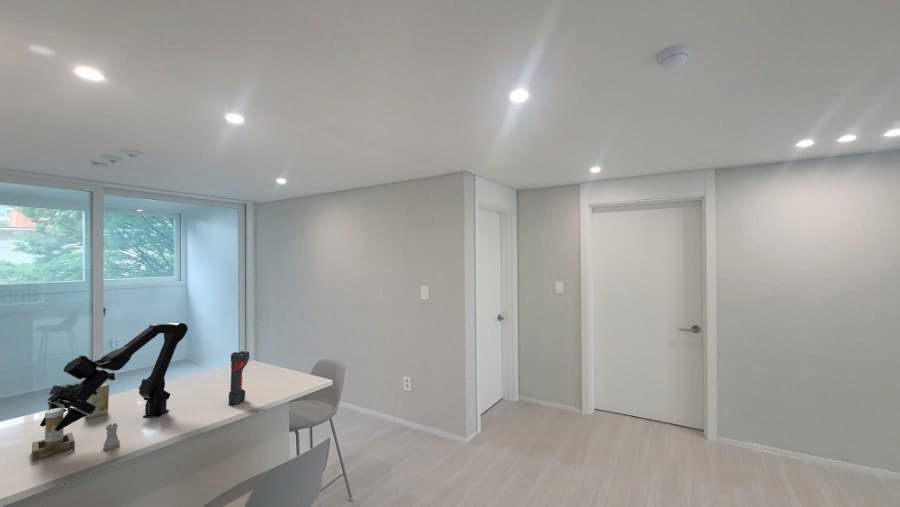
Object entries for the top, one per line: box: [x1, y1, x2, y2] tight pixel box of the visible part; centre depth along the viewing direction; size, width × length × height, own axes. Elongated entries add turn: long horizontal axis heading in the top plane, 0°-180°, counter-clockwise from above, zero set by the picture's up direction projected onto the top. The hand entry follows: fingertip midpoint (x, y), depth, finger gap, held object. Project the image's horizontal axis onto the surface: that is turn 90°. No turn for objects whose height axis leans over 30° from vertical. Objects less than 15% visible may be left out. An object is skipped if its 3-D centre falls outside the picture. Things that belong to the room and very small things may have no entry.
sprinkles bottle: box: [44, 408, 65, 447], centre depth 127 cm, size 5×5×14 cm
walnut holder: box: [31, 432, 76, 462], centre depth 127 cm, size 10×10×3 cm
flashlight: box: [228, 350, 250, 406], centre depth 171 cm, size 8×8×23 cm
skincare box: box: [84, 383, 110, 419], centre depth 156 cm, size 6×4×12 cm
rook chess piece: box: [102, 422, 121, 451], centre depth 129 cm, size 4×4×8 cm
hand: (48, 428), depth 125 cm, fingers open, 9 cm apart
